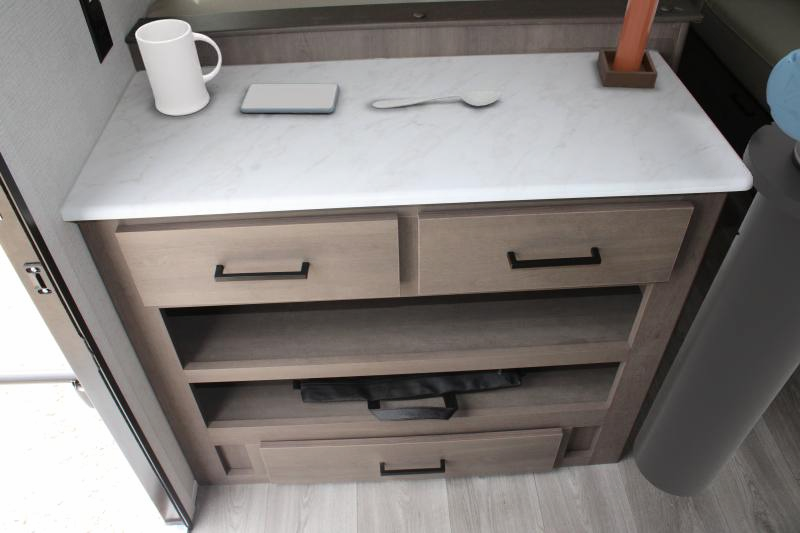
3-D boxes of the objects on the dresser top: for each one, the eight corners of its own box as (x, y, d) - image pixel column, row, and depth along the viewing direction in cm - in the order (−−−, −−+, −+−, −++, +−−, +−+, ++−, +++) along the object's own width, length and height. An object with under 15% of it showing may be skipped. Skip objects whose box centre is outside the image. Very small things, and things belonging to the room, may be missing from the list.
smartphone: (249, 82, 105) (339, 82, 104) (251, 88, 106) (340, 87, 105) (238, 109, 99) (333, 109, 98) (240, 114, 100) (334, 114, 99)
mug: (227, 83, 107) (212, 12, 98) (232, 108, 101) (216, 36, 93) (155, 93, 105) (133, 22, 96) (156, 119, 99) (132, 46, 90)
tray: (644, 64, 110) (648, 50, 108) (653, 88, 104) (657, 73, 103) (596, 63, 111) (599, 49, 109) (603, 86, 105) (606, 72, 103)
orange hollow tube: (635, 65, 109) (658, -18, 99) (640, 78, 106) (664, -7, 96) (609, 65, 109) (630, -19, 99) (613, 77, 106) (634, -7, 96)
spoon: (502, 109, 100) (503, 99, 99) (372, 112, 100) (371, 103, 99) (498, 95, 103) (499, 86, 102) (372, 98, 103) (371, 89, 102)
